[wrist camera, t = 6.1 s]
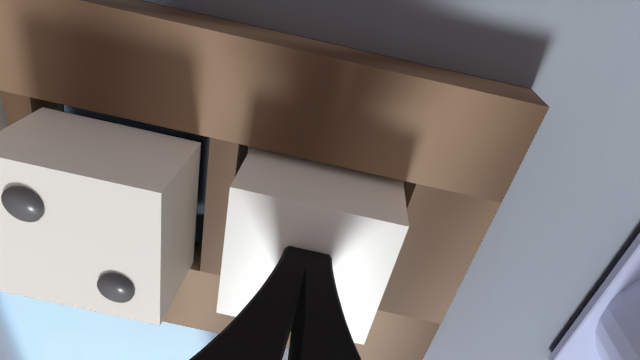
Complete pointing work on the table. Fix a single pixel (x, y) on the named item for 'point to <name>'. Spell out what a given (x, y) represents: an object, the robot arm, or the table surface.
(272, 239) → the one dot tile
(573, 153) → the table surface
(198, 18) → the tile board
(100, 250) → the two dot tile
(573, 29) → the table surface
